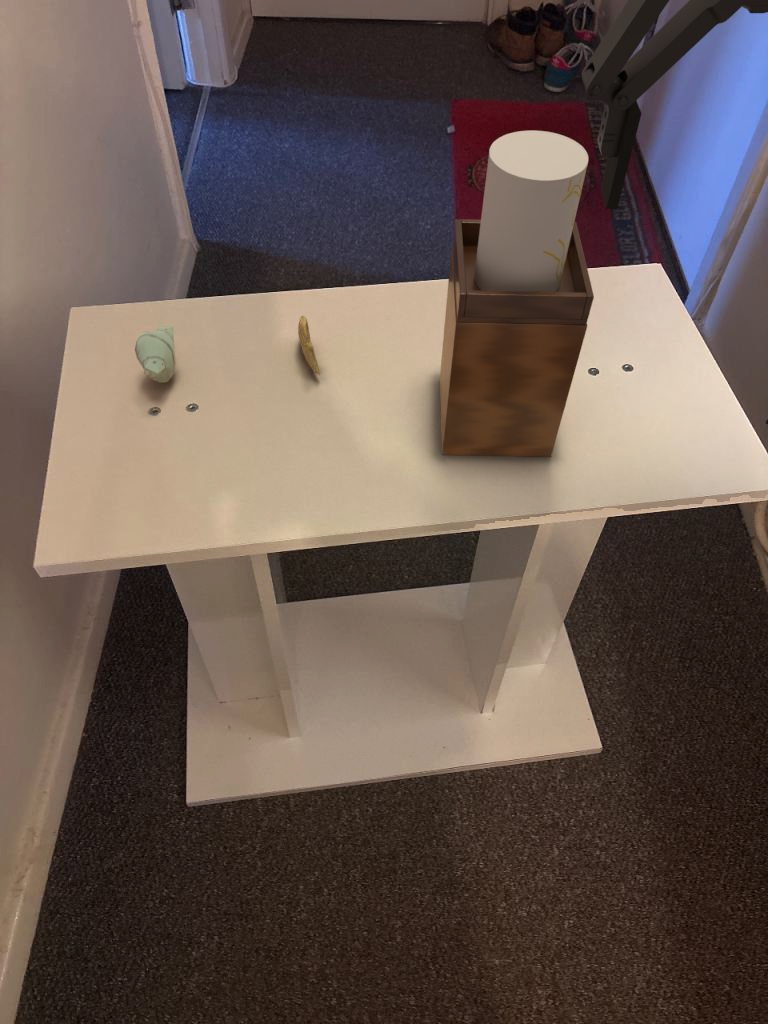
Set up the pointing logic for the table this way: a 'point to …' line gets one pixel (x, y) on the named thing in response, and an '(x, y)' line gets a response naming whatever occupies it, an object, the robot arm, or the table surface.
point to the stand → (504, 383)
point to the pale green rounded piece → (157, 353)
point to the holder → (519, 305)
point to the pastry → (307, 344)
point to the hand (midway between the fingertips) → (704, 200)
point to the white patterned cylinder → (528, 211)
